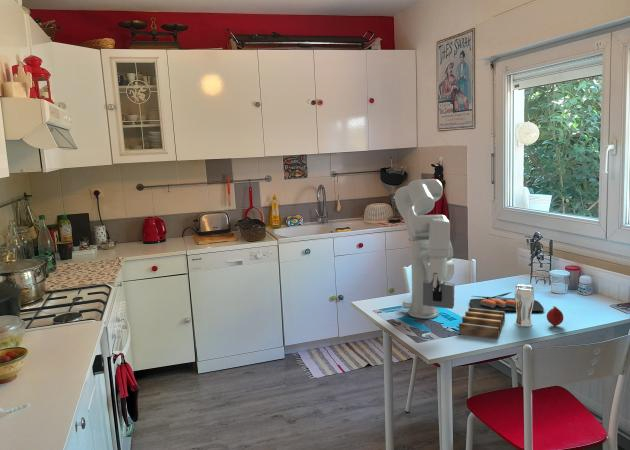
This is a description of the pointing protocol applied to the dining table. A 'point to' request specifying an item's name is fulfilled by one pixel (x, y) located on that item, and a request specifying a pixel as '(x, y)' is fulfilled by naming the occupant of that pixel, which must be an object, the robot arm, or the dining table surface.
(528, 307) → the beer glass
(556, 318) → the onion
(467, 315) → the rack
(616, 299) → the dining table surface
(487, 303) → the sushi plate
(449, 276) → the heart sculpture
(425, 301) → the grey rectangular block
